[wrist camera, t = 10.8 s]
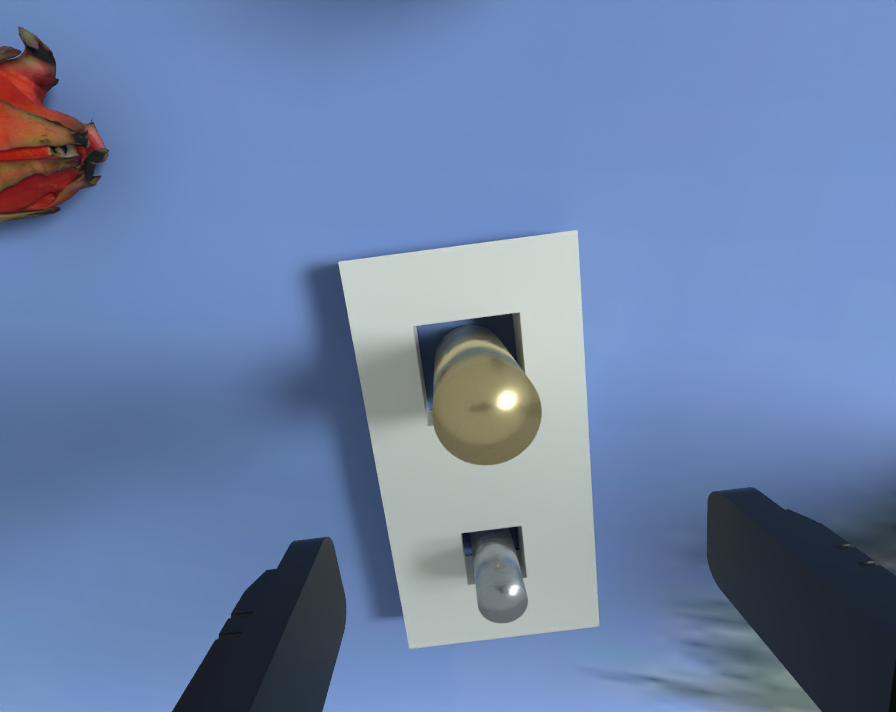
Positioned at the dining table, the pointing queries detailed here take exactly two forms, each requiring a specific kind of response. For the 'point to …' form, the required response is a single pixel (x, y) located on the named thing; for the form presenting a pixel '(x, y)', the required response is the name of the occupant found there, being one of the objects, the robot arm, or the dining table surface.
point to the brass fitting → (482, 398)
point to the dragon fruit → (39, 137)
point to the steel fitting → (498, 576)
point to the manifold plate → (464, 484)
